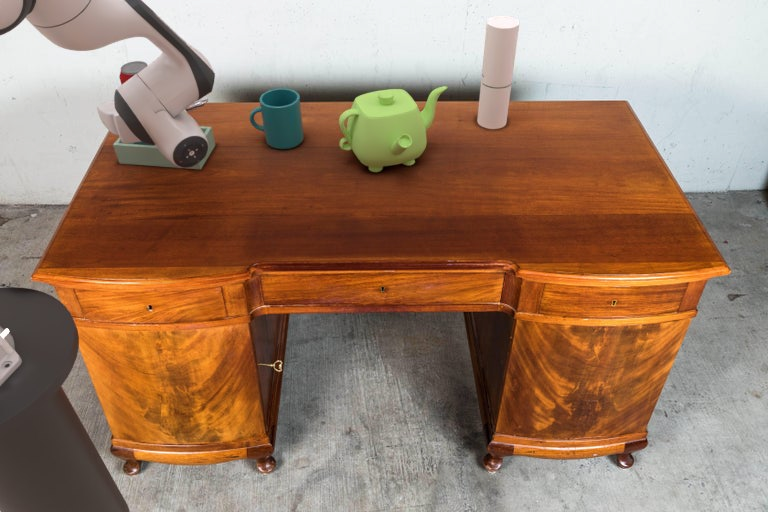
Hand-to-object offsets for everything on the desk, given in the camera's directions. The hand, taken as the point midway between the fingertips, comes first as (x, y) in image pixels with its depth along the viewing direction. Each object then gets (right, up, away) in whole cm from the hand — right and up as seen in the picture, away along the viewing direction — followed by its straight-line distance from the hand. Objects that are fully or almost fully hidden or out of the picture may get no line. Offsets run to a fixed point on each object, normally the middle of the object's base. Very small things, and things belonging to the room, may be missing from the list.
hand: (139, 89), depth 138 cm
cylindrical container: (+78, -2, +24) cm, 82 cm away
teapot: (+54, -13, +11) cm, 57 cm away
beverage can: (+1, -5, +4) cm, 7 cm away
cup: (+26, -8, +18) cm, 33 cm away
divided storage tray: (+1, -11, +14) cm, 18 cm away
